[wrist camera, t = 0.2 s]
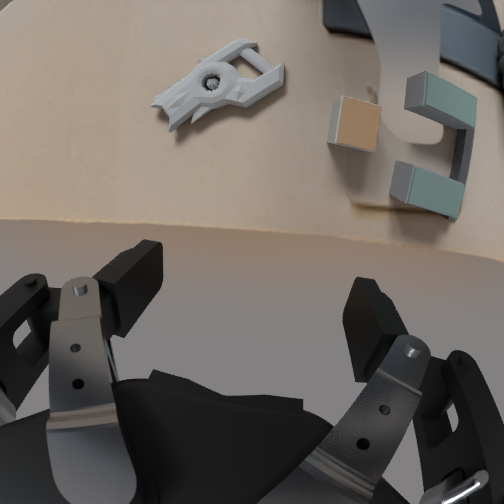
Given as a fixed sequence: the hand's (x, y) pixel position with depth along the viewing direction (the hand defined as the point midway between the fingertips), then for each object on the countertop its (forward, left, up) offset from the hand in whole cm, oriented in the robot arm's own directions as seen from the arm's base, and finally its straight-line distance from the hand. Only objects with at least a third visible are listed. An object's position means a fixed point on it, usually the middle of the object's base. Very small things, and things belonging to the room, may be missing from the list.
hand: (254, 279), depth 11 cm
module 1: (-9, +8, -28) cm, 31 cm away
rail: (-10, +27, -28) cm, 41 cm away
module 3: (-4, +21, -28) cm, 35 cm away
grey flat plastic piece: (-12, -10, -29) cm, 33 cm away
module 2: (-17, +21, -28) cm, 39 cm away
